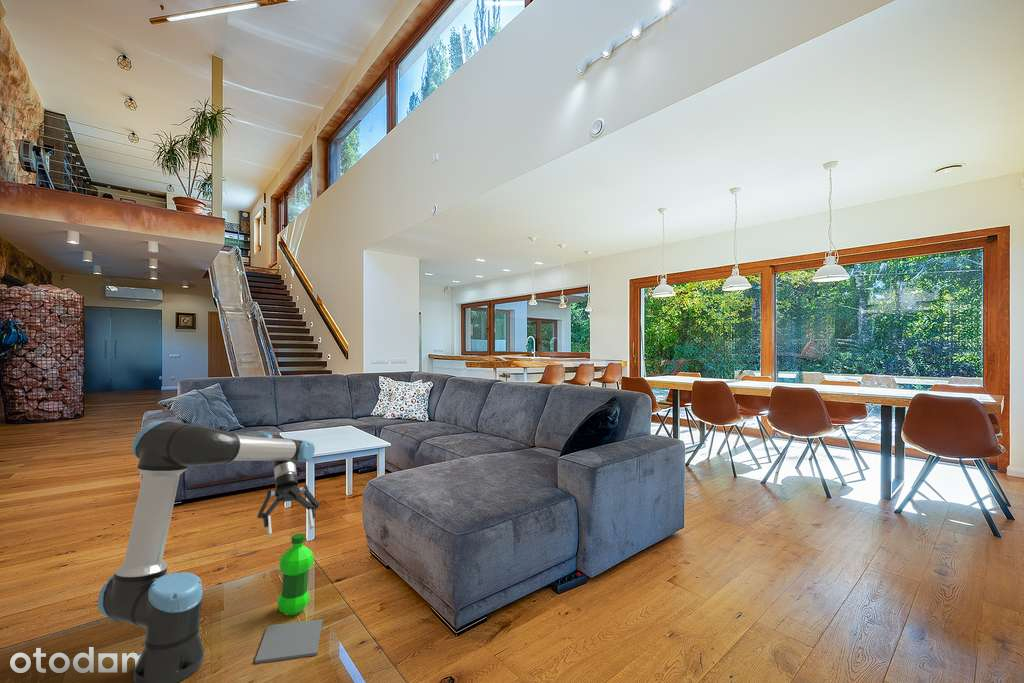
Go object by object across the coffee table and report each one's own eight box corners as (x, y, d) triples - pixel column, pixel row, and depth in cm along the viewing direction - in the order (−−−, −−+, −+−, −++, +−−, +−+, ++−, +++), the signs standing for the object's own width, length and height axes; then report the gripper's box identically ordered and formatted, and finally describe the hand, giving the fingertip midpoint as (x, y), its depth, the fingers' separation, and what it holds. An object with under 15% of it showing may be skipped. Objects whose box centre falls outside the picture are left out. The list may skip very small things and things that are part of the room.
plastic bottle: (307, 599, 154) (312, 527, 155) (311, 615, 145) (316, 539, 146) (275, 606, 149) (280, 532, 149) (277, 623, 140) (283, 544, 140)
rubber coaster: (254, 663, 122) (254, 660, 122) (267, 628, 137) (267, 625, 137) (316, 655, 127) (317, 652, 127) (322, 621, 142) (322, 619, 142)
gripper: (318, 478, 178) (325, 529, 166) (246, 487, 162) (249, 543, 150) (322, 468, 174) (330, 519, 162) (250, 476, 158) (252, 533, 146)
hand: (291, 531), depth 156 cm, fingers open, 13 cm apart
